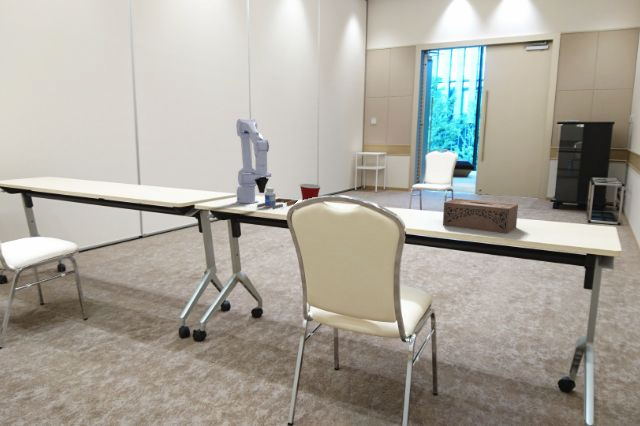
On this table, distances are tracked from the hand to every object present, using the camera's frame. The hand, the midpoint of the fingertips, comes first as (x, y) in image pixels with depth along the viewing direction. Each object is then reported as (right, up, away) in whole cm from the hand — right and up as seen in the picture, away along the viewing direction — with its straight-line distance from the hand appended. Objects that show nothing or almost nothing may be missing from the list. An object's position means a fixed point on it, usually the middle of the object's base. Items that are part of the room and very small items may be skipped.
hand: (261, 192), depth 227 cm
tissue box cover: (+95, -16, -36) cm, 103 cm away
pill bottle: (+3, -7, +8) cm, 11 cm away
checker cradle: (+3, -7, +8) cm, 11 cm away
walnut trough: (+9, -5, +19) cm, 22 cm away
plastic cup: (+24, -8, +4) cm, 25 cm away
